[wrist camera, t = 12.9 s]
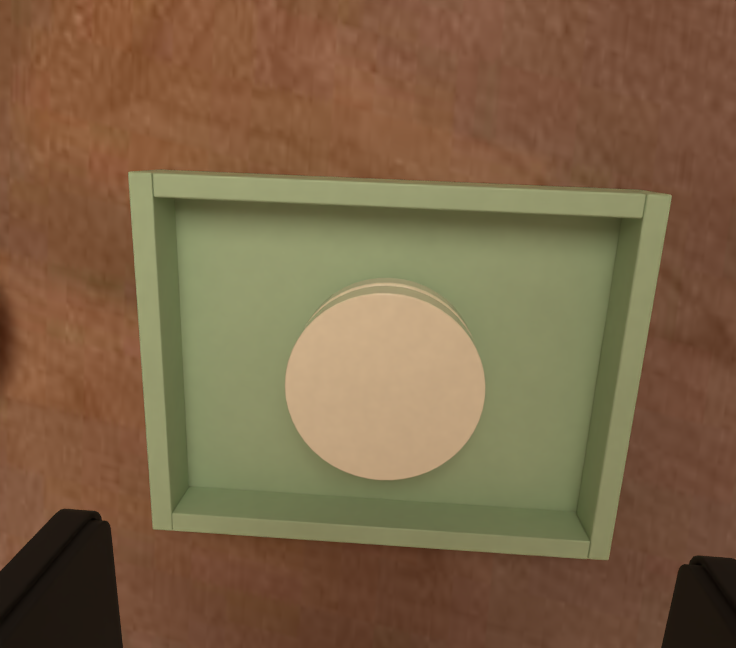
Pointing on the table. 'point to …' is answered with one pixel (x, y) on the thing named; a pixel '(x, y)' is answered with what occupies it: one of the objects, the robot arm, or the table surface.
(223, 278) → the tray
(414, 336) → the beige round container
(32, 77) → the table surface
